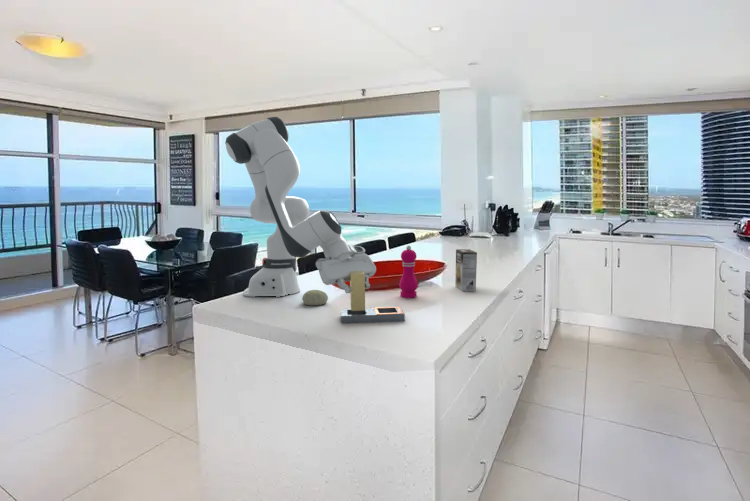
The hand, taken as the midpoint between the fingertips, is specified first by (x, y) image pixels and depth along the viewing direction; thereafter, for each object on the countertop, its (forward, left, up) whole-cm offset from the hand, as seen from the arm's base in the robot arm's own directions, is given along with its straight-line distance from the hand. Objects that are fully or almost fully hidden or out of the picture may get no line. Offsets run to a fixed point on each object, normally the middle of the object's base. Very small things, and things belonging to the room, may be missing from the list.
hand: (358, 289), depth 139 cm
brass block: (0, +1, -6) cm, 6 cm away
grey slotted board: (+4, 0, -10) cm, 11 cm away
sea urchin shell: (-15, +22, -10) cm, 28 cm away
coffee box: (+47, +38, -10) cm, 61 cm away
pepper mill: (+21, +28, -10) cm, 36 cm away
